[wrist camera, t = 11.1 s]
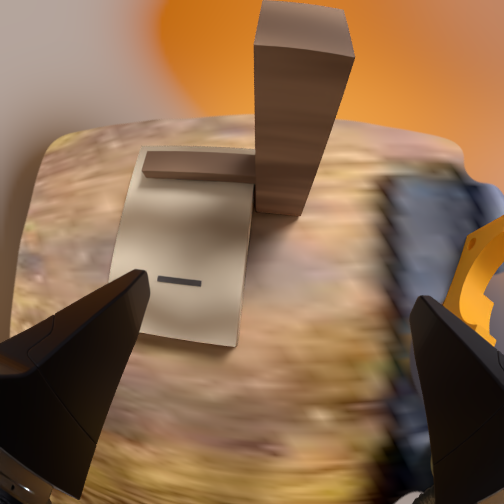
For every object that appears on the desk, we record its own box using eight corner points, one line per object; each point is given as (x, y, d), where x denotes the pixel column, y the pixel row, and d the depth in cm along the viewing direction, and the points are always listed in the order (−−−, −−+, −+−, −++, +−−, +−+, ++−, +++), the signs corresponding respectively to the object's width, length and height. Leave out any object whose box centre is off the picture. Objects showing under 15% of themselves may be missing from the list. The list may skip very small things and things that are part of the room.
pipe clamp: (452, 368, 21) (498, 373, 15) (422, 348, 22) (467, 349, 15) (492, 259, 23) (533, 241, 17) (466, 235, 24) (506, 213, 18)
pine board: (237, 344, 22) (235, 346, 19) (116, 325, 22) (101, 324, 20) (257, 165, 26) (257, 148, 23) (149, 160, 26) (141, 145, 23)
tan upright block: (300, 216, 24) (355, 57, 8) (153, 204, 24) (55, 67, 9) (302, 173, 25) (343, 9, 9) (163, 163, 25) (92, 19, 10)
